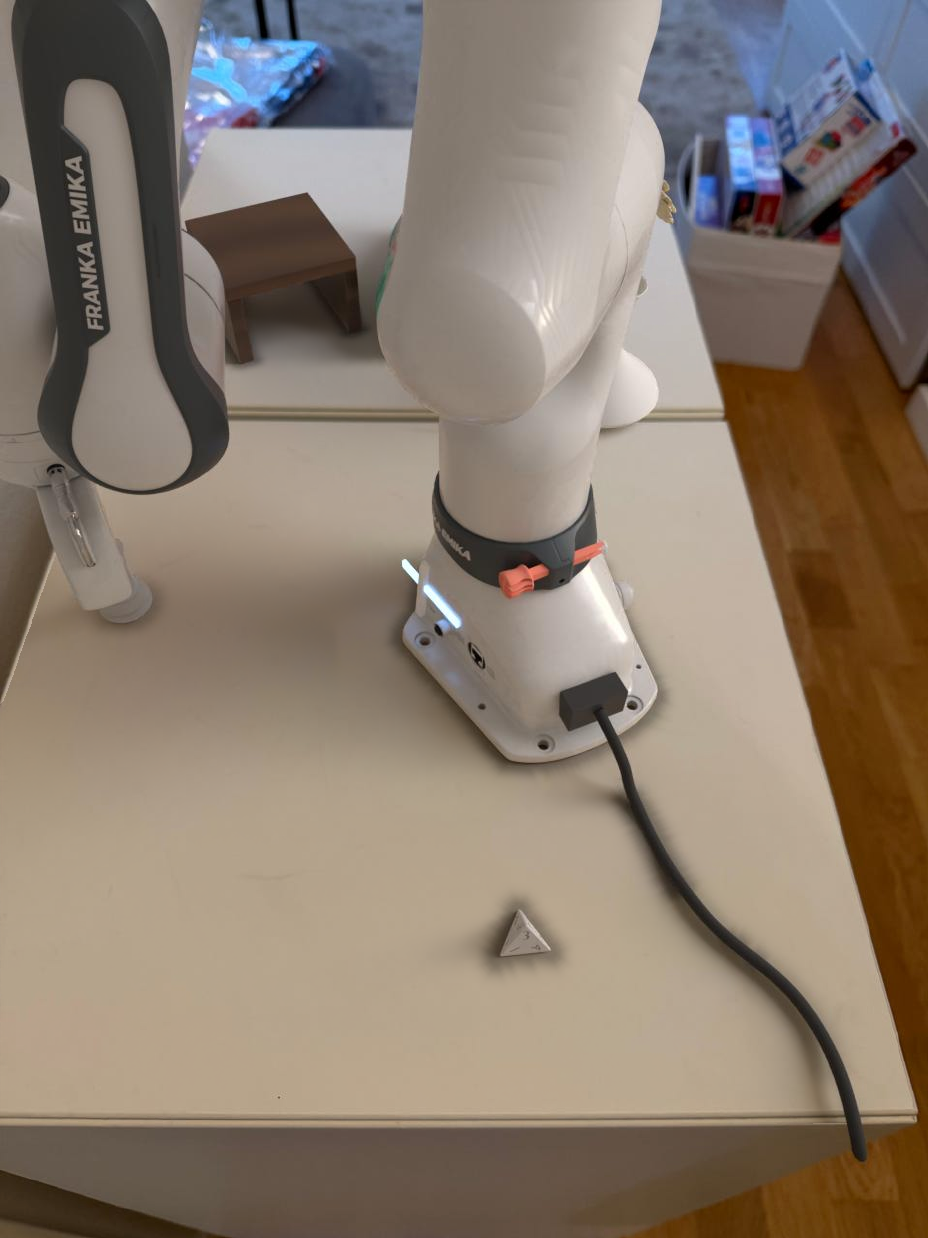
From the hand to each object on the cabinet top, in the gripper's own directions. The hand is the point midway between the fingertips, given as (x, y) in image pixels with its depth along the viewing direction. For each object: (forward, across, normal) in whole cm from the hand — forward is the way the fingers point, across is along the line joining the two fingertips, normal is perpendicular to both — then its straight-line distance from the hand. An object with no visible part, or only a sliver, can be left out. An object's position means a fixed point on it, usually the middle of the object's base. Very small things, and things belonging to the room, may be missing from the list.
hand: (97, 555), depth 74 cm
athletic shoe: (+6, +30, -43) cm, 53 cm away
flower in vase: (+6, +6, -52) cm, 52 cm away
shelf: (+6, +34, -26) cm, 43 cm away
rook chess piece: (+6, -1, -1) cm, 7 cm away
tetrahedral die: (+5, -40, -18) cm, 45 cm away
